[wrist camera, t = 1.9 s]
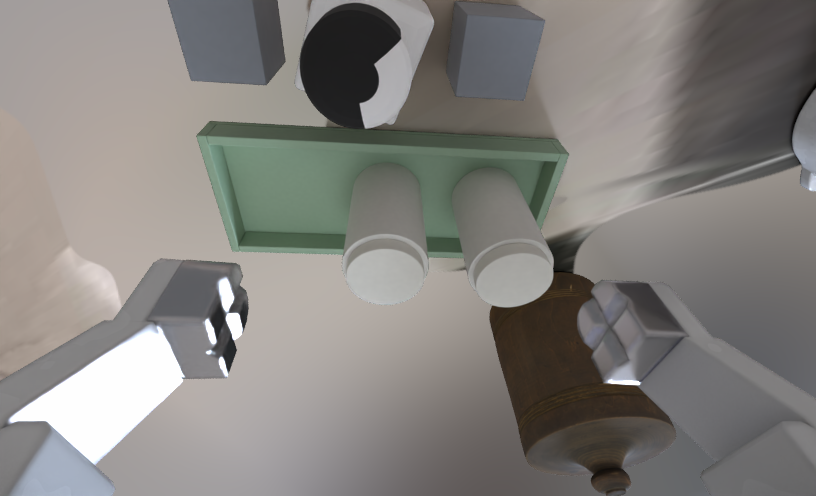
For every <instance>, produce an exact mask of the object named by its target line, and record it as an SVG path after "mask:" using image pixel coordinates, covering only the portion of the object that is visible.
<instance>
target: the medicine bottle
mask: <svg viewBox="0 0 816 496" xmlns="http://www.w3.org/2000/svg"><path fill="white" fill-rule="evenodd" d="M433 26H434V19H433V17H432V15H431V13H430V11H429V9H428V7H427V5H426V3H425V2H424V1H422V0H312V2H311V6H310V11H309V16H308V20H307V25H306V30H305V35H304V39H303V44H302V49H301V53H300V58H299V63H298V68H297V72H296V77H295V86H296V88H298V89H299V90H302V91H305V92H306V94H307V96H308V98H309V99H310V101H311V102H312V104H313V105H314V106H315V107H316V109H317V110H318V111H319V112H320V113H322V114H323V115H324V116H325V117H326V118H328V119H329V120H331V121H332V122H334V123H336V124H338V125H341V126H344V127H348V128H353V129H368V128H373V127H376V126H379V125H381V124H383V123H387V124H390V125H392V124H394V122H395V121H396V119H397V116H398V114H399V111H400V109H401V108H402V106H403V105H404V103H405V101H406V99H407V97H408V94H409V91H410V87H411V81H412V79H413V76H414V74H415V71H416V69H417V66H418V64H419V61H420V59H421V56H422V54H423V51H424V49H425V46H426V44H427V41H428V39H429V36H430V34H431V31H432V29H433Z"/></svg>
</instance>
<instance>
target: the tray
mask: <svg viewBox="0 0 816 496" xmlns="http://www.w3.org/2000/svg"><path fill="white" fill-rule="evenodd" d="M196 137H197V139H198V143H199V146H200V149H201V153H202V156H203V159H204V162H205V165H206V168H207V172H208V175H209V178H210V181H211V185H212V188H213V191H214V194H215V197H216V201H217V204H218V207H219V210H220V213H221V216H222V220H223V223H224V226H225V230H226V233H227V236H228V239H229V242H230V246H231V249H232V251H236V252H239V251H241V252H270V253H272V252H273V253H305V254H338V255H343V252H344V245H345V238H346V232H347V225H348V218H349V212H350V205H351V198H352V192H353V186H354V183H355V180H356V178H357V177H358V175H359V174H360V173H361V172H362V171H363V170H365V169H366V168H368V167H369V166H372V165H374V164H378V163H394V164H398V165H401V166H403V167H405V168H407V169H408V170H410V171H411V172H412V173H413V174H414V175H415V177H416V178H417V180H418V182H419V185H420V189H421V198H422V207H423V216H424V225H425V234H426V243H427V252H428V257H441V258H464V257H463V252H462V248H461V243H460V239H459V234H458V229H457V225H456V220H455V216H454V211H453V207H452V193H453V190H454V188H455V186H456V185H457V183H458V182H459V181H460V180H461V179H462V178H463V177H464V176H465V175H467V174H468V173H470V172H472V171H474V170H477V169H480V168H486V167H493V168H499V169H502V170H504V171H506V172H508V173H509V174H511V175H512V177H513V178H514V179H515V181H516V183H517V185H518V187H519V189H520V191H521V193H522V195H523V197H524V199H525V201H526V203H527V205H528V207H529V209H530V211H531V213H532V215H533V217H534V219H535V221H536V223H537V225H538V227H539V229H540V230H541V227H542V225H543V222H544V219H545V217H546V214H547V212H548V209H549V206H550V203H551V201H552V198H553V196H554V193H555V190H556V188H557V185H558V182H559V180H560V177H561V174H562V172H563V169H564V166H565V164H566V161H567V158H568V156H569V153H568V152H567V151H566V150H565V148H564V147H563V146H562V145H561V143H560V142H559V141H558V140H557V139H541V138H522V137H503V136H484V135H465V134H446V133H427V132H408V131H389V130H370V129H351V128H332V127H313V126H294V125H275V124H256V123H237V122H217V121H210V122H209V123H208V124H207V125H206V126H205V127H204V128H203V129H202V130H201V131H200V132H199V133H198V134H197V136H196Z"/></svg>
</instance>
